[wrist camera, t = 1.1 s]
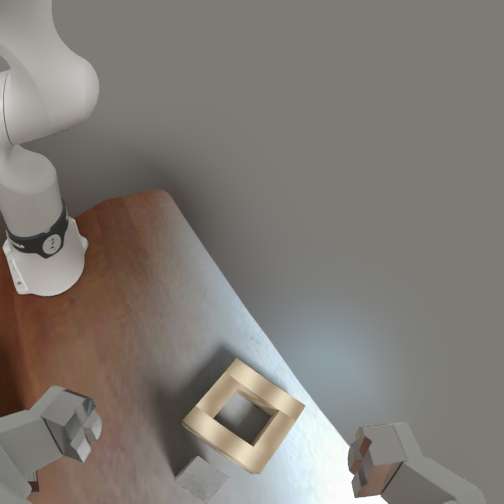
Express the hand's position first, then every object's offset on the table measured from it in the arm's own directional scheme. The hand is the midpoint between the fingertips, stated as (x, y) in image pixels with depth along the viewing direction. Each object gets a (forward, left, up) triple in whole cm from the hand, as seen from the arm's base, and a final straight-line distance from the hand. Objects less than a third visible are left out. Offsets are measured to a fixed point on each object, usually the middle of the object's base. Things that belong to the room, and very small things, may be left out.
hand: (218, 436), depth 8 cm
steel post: (+3, -1, -38) cm, 38 cm away
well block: (+3, +11, -38) cm, 40 cm away
